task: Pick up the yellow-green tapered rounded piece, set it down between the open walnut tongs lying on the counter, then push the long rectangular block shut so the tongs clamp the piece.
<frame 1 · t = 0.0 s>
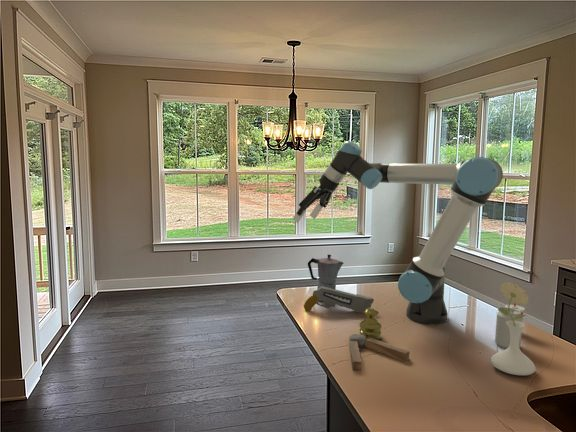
hand: (303, 218, 172), 36 cm above the kitchen island, tool tilted 35°, fingers open, 13 cm apart
gun: (338, 312, 168), on the kitchen island
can: (507, 346, 137), on the kitchen island
flower in vase: (510, 369, 122), on the kitchen island
yellow-green tapered rounded piece: (370, 337, 143), on the kitchen island
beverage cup: (512, 332, 148), on the kitchen island
long rectangular block: (386, 349, 131), point 1 cm above the kitchen island, hinge at 50.0°
moka pot: (324, 300, 182), on the kitchen island
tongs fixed: (357, 344, 137), on the kitchen island
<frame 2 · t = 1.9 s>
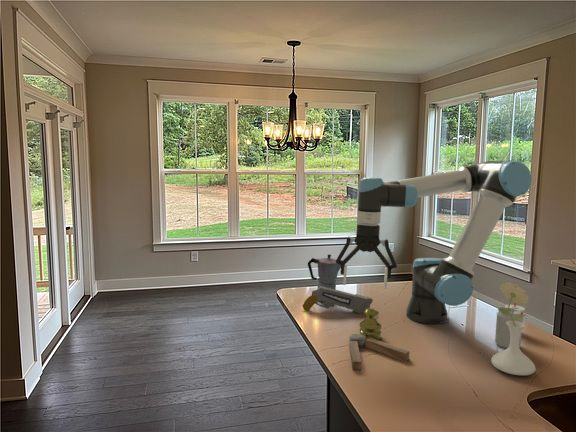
hand: (364, 285, 142), 17 cm above the kitchen island, tool pointing down, fingers open, 13 cm apart
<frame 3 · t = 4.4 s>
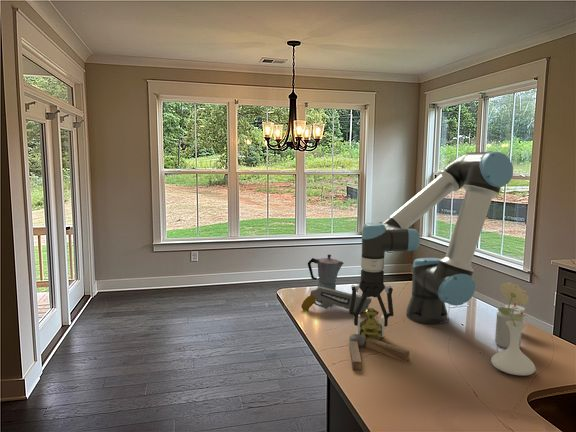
hand: (370, 334, 143), 1 cm above the kitchen island, tool pointing down, fingers closed on yellow-green tapered rounded piece, 7 cm apart
yellow-green tapered rounded piece: (370, 337, 143), on the kitchen island, touching gripper
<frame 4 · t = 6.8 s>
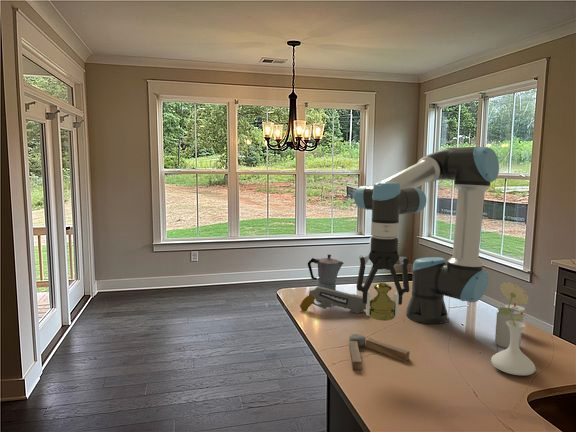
hand: (381, 314, 122), 15 cm above the kitchen island, tool pointing down, fingers closed on yellow-green tapered rounded piece, 7 cm apart
yellow-green tapered rounded piece: (381, 317, 122), point 14 cm above the kitchen island, touching gripper
when the fingers open (2 cm above the kitchen island, at t = 9.2 s): yellow-green tapered rounded piece drops 1 cm, on the kitchen island.
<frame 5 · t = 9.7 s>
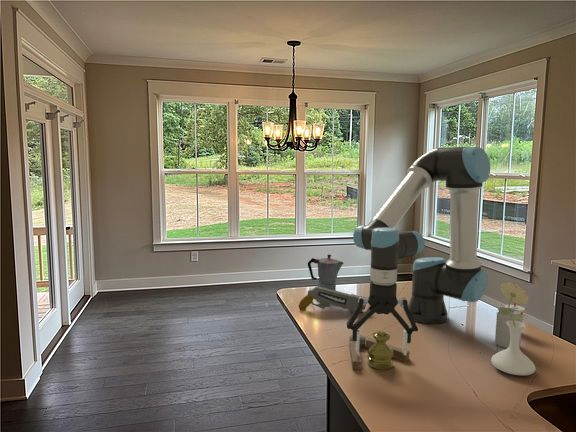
hand: (380, 352, 123), 4 cm above the kitchen island, tool pointing down, fingers open, 13 cm apart
yellow-green tapered rounded piece: (380, 365, 123), on the kitchen island
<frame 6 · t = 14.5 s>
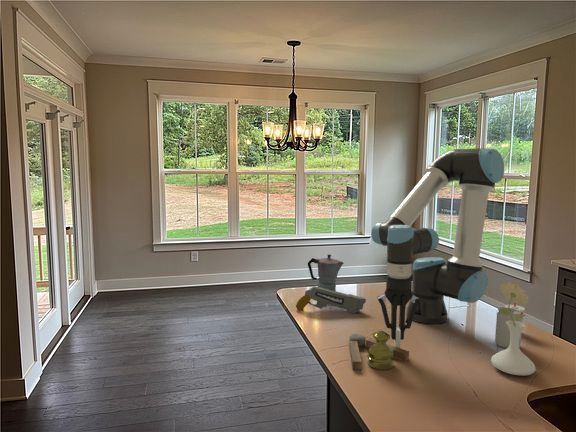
hand: (397, 349, 131), 1 cm above the kitchen island, tool pointing down, fingers closed
gun: (330, 311, 168), on the kitchen island
long rectangular block: (386, 349, 131), point 1 cm above the kitchen island, hinge at 49.2°, touching gripper
everything else where it was.
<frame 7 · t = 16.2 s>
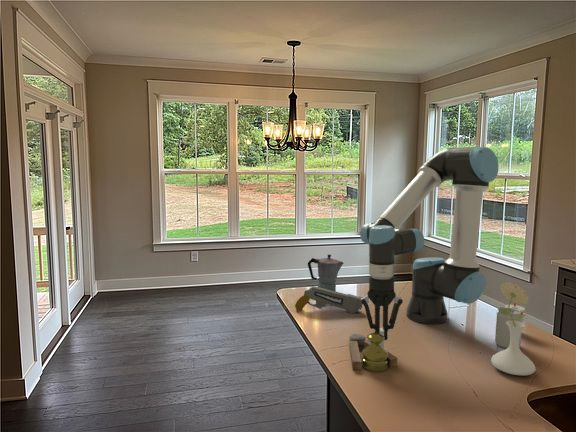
hand: (381, 349, 131), 1 cm above the kitchen island, tool pointing down, fingers closed
yellow-green tapered rounded piece: (374, 366, 122), on the kitchen island
long rectangular block: (379, 352, 128), point 1 cm above the kitchen island, hinge at 27.6°, touching gripper
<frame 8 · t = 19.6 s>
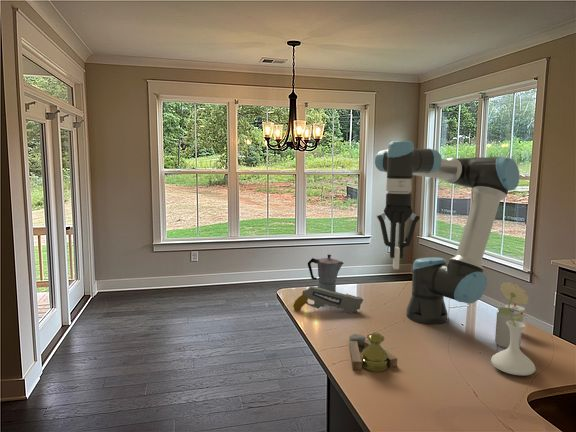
hand: (395, 268, 131), 26 cm above the kitchen island, tool pointing down, fingers closed
long rectangular block: (379, 352, 128), point 1 cm above the kitchen island, hinge at 27.5°
at the end: long rectangular block at +28° (first picture: +50°); yellow-green tapered rounded piece inside the target area on the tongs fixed (2.3 cm from its centre), point 0.0 cm above the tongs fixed's base; yellow-green tapered rounded piece tilted 0° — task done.
